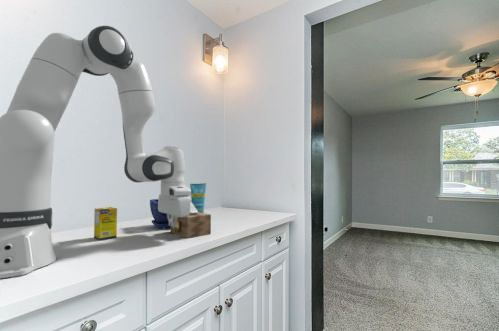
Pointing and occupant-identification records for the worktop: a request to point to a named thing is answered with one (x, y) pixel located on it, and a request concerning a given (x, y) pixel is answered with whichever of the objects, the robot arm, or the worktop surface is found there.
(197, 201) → the tube
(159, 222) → the flower pot
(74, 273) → the worktop surface
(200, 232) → the block
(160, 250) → the worktop surface
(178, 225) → the pin
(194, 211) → the keeper
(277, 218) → the worktop surface
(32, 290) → the worktop surface
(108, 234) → the supplement box
